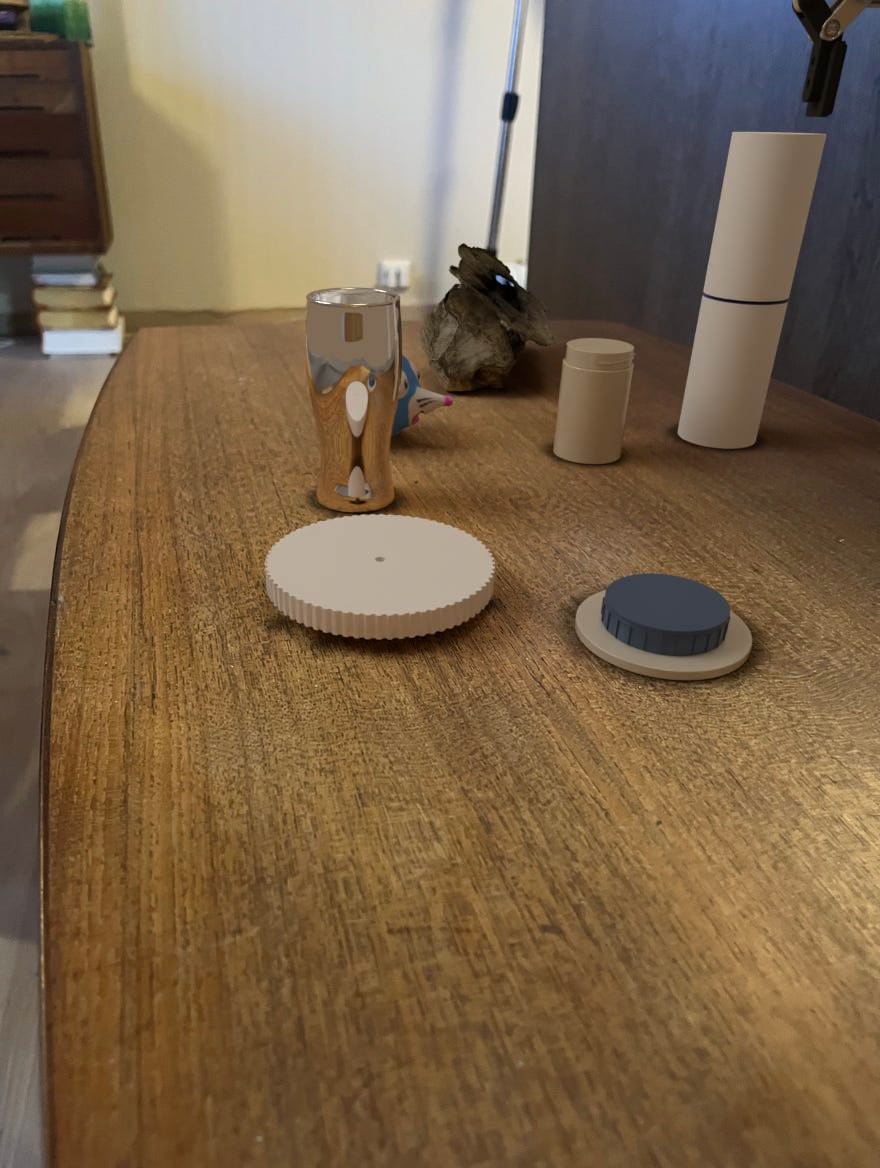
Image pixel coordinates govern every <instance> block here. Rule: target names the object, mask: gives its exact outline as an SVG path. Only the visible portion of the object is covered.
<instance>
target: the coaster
mask: <svg viewBox="0 0 880 1168" xmlns="http://www.w3.org/2000/svg"><path fill="white" fill-rule="evenodd" d="M605 592H606V589H604V590H601V591H598V592H595V593H594V594H592V595H589V596H588V597H587V598H585V599H584V600H583V601H582V602H581V603H580V604H579V606H578V608H577V610H576V612H575V619H574V629H575V632H576V635H577V637H578V638H579V640H580V642H581V643H582V644H583V645H584V646H585V647H586V648H587V649H588V651H590V652H591V653H593V654H595V656H597V657H598V658H600V659H602V660H603V661H605V662H607V663H608V664H612V665H613V666H615V667H617V668H619V669H623V670H625V671H628V672H632V673H635V674H638V675H641V676H645V677H650V678H654V679H655V678H656V679H663V680H669V681H670V680H671V681H701V680H709V679H714V678H719V677H722V676H725V675H728V674H731V673H732V672H734V671H737V670H738V669H739V668H741V667H742V666H743V665H744V663H746V661H747V660H748V659H749V656H750V654H751V650H752V646H753V636H752V632H751V631H750V628H749V627H748V625H747V624H746V622H744V621H743V619H742V618H741V617H740V616H739V615H737V614H736V613H735V612H733V611H732V610H730V621H729V625H728V629H727V633H726V637H725V640H724V641H722V642H721V644H720V645H719V646H718V647H716V648H715V649H713V650H711V651H708V652H705V653H702V654H697V655H689V656H671V655H662V654H656V653H651V652H647V651H643V650H640V649H637V648H634V647H632V646H630V645H627V644H625V643H623V642H622V641H620V640H618V639H617V638H615V637H614V636H613V635H612V634H610V633H609V632H608V631H607V630H606V628H605V626H604V624H603V622H602V621H601V618H602V614H601V608H602V602H603V597H605Z"/></svg>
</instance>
